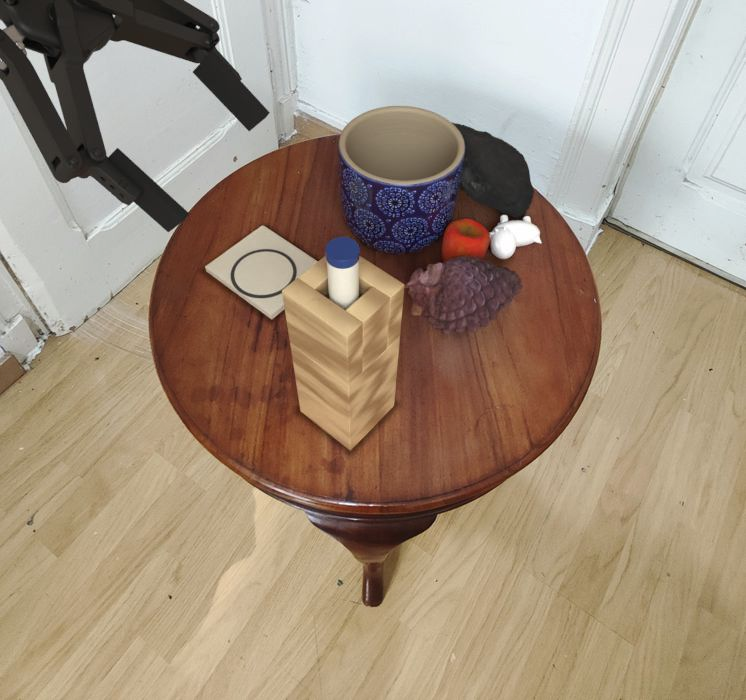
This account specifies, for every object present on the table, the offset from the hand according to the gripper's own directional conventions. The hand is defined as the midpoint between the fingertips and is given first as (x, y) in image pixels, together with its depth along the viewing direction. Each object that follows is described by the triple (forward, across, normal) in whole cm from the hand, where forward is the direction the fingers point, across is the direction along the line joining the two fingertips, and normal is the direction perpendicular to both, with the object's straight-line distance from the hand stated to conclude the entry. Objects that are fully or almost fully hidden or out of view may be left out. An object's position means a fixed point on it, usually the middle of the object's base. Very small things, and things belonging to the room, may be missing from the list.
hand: (222, 169), depth 52 cm
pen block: (+30, 0, -15) cm, 34 cm away
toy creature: (+36, -36, -6) cm, 51 cm away
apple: (+34, -26, -11) cm, 44 cm away
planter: (+27, -31, -19) cm, 45 cm away
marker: (+20, 0, -5) cm, 21 cm away
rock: (+36, -43, -10) cm, 57 cm away
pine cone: (+36, -19, -9) cm, 42 cm away
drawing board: (+17, -16, -28) cm, 37 cm away
